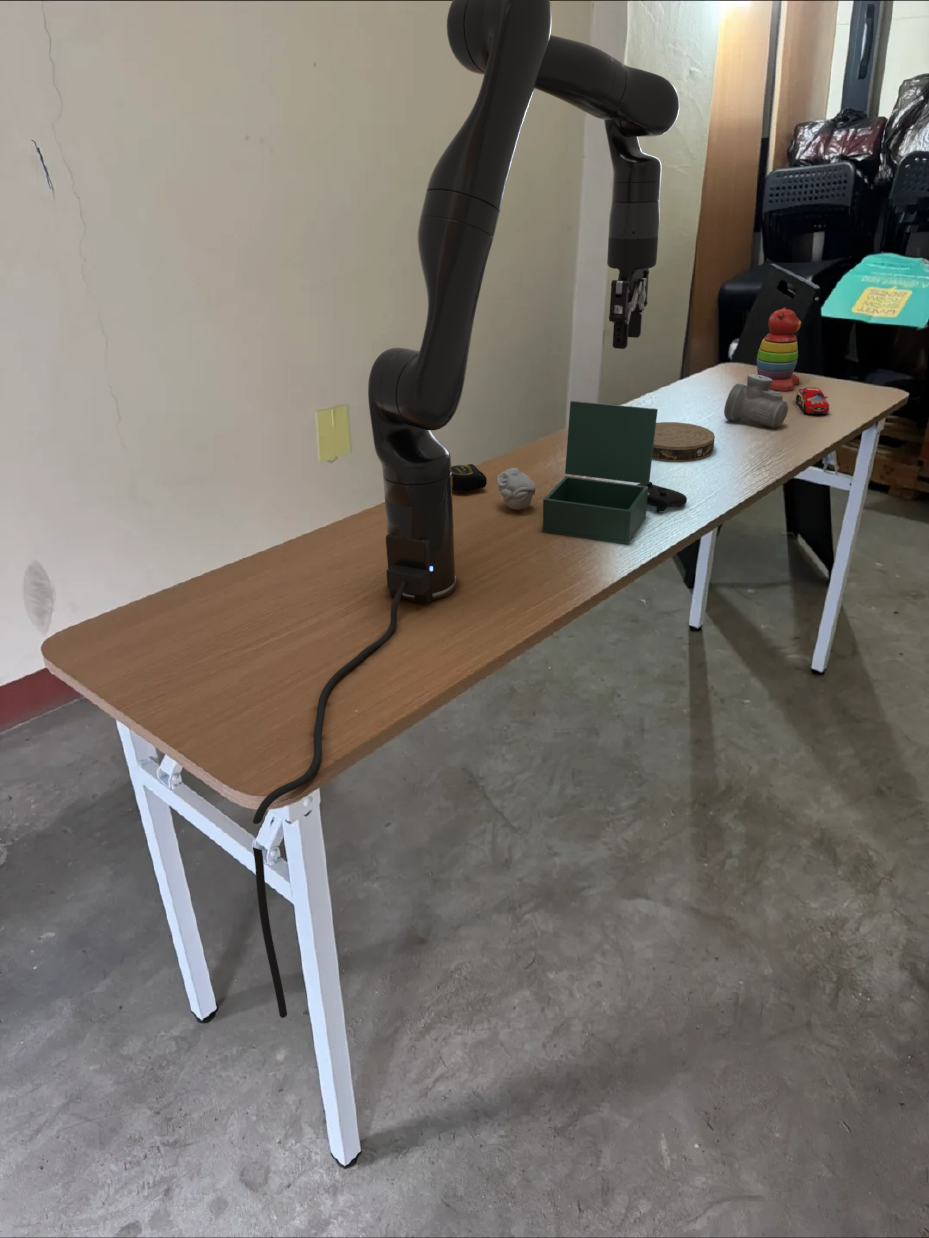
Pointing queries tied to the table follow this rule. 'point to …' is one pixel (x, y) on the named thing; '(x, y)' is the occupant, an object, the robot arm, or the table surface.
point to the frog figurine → (515, 488)
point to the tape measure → (467, 478)
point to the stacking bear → (780, 350)
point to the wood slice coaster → (682, 442)
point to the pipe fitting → (756, 402)
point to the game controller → (663, 497)
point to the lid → (610, 441)
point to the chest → (595, 509)
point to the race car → (812, 401)
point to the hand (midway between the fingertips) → (626, 342)
